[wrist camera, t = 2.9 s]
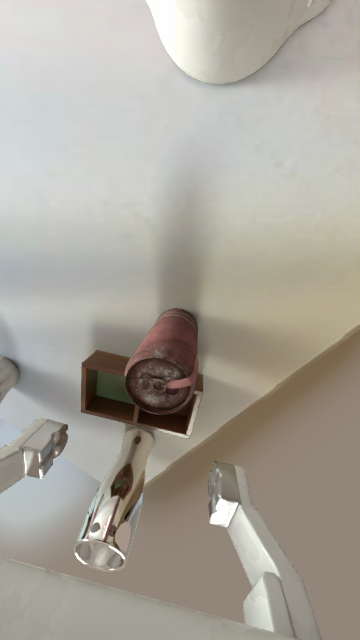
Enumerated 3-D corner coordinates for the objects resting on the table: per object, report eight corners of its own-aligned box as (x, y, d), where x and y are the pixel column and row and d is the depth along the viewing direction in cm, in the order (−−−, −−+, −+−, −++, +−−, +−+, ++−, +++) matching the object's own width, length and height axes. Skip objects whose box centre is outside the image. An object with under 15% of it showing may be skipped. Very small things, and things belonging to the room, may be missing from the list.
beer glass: (159, 431, 34) (131, 550, 20) (152, 455, 37) (123, 578, 23) (124, 421, 35) (72, 533, 20) (119, 446, 37) (70, 563, 23)
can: (206, 334, 27) (212, 403, 14) (170, 350, 29) (145, 427, 16) (187, 299, 26) (175, 339, 13) (150, 318, 27) (105, 372, 14)
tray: (96, 350, 30) (81, 363, 26) (202, 374, 30) (203, 391, 26) (94, 394, 33) (80, 412, 29) (190, 417, 33) (189, 438, 29)
